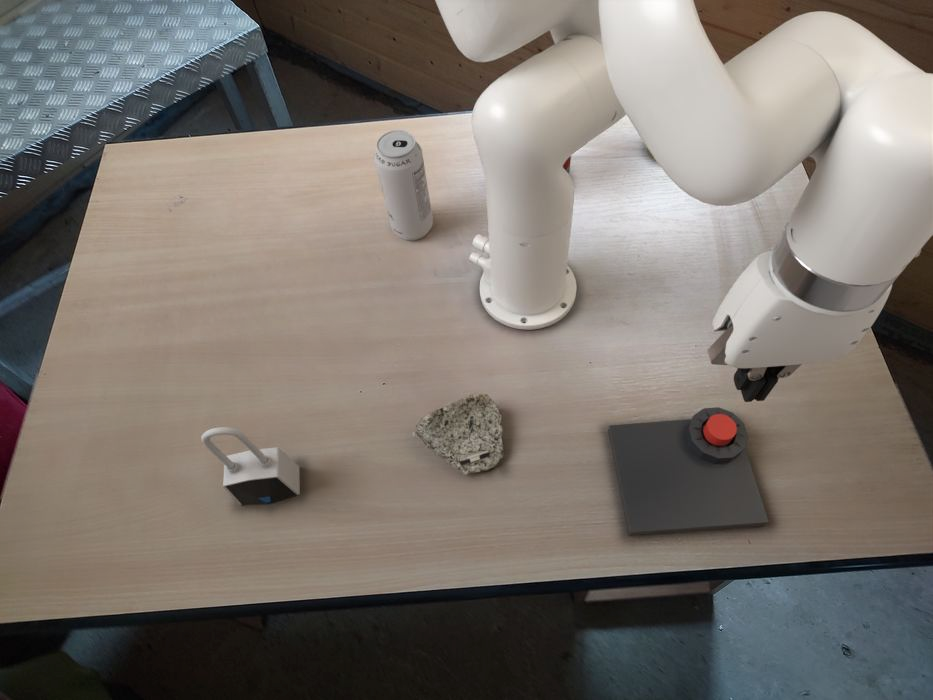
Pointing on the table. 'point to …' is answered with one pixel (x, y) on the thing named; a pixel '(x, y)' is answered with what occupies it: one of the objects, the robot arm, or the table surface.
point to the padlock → (255, 471)
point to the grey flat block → (684, 477)
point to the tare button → (719, 430)
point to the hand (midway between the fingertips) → (748, 387)
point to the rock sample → (465, 433)
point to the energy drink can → (404, 184)
